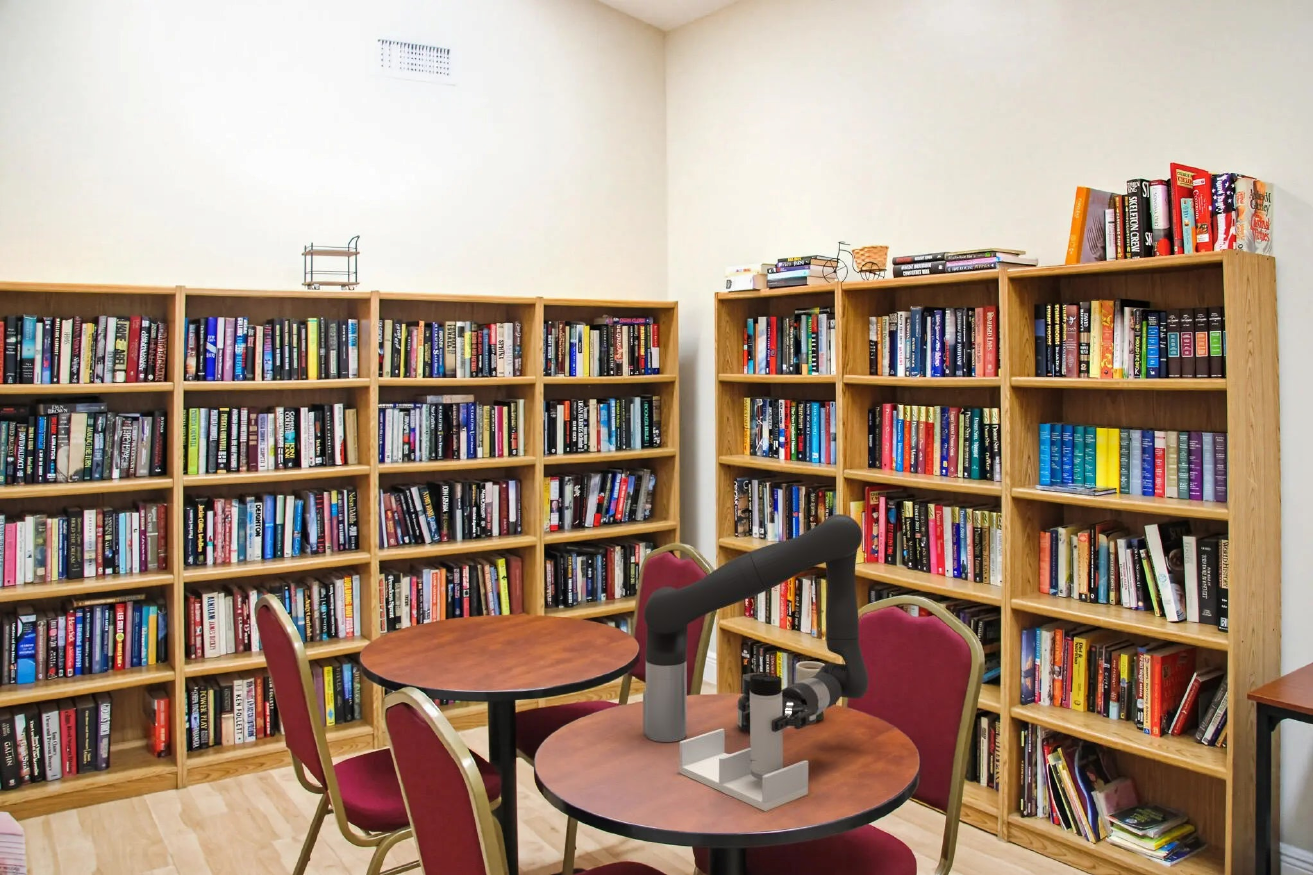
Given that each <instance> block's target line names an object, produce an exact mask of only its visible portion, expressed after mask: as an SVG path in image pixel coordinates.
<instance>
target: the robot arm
mask: <svg viewBox="0 0 1313 875" xmlns="http://www.w3.org/2000/svg"><path fill="white" fill-rule="evenodd" d="M862 541H863V530H862V527H861V526H860V524H859V522H858V521H856V520H855V519H854V518H853V517H851V516H850V515H847V514H843V513H837V514H833V515H830V516H828V517H827V518H826V519H825V520H824V521H822V522H821V523H819V524H818V525H816V526H815V527H813V528H811V529H809V530H807V531H805V532H804V533H801V534H800V535H798V536H795V537H793V538H790V539H787V540H783V541H779V542H778V541H777V542H774V543H772V544H768V545H764V546H762V547H758V548H757V549H753V550H751V551H748V552H746V553H744V554H742V555H740V556H737V557H735V558H732V559H731V560H729V561H727V562H725V563H724V564H722V565H721V566H720V567H718V568H716V569H714V570H713V571H712V572H710V573H709V574H708V575H706V576H705V577H703V578H701V579H700V580H697V581H696V582H694V583H691V584H689V585H686V586H684V587H680V588H678V589H677V588H674V587H672V586H665V587H664V586H663V587H660V588H658V589H656V590H654V591H653V592H652V593H651V594H650V596H649V597H648V600H647V601H646V603H645V605H644V610H643V618H644V623H645V624H646V644H645V690H644V691H643V692H642V733H643V734H645V737H646V738H647V739H649V740H651V741H654V742H660V743H673V742H678V741H679V742H680V741H683V740H684V739H685V738H686V737H687V716H688V715H687V714H688V713H687V708H688V707H687V696H688V695H687V690H688V689H687V680H688V678H687V677H688V676H687V671H688V670H687V661H688V658H687V657H688V655H687V654H688V633H689V632H688V628H689V626H688V625H689V624H691V623H693V622H694V621H696V620H698V619H701V618H702V617H704V616H706V615H708V614H710V613H712V612H715V611H718V610H721V609H724V608H726V607H728V606H732V605H734V604H737V603H740V602H742V601H745V600H747V599H750V598H753V597H755V596H757V595H760V594H763V593H765V592H767V591H770V590H771V589H773V588H775V587H777V586H780V585H781V584H784V583H785V582H787V581H789V580H791V579H792V578H794V577H795V576H797V575H799V574H800V573H803V572H804V571H806V570H809V569H811V568H813V567H817V566H819V565H822V564H825V569H826V570H825V571H826V606H825V607H826V608H825V612H826V613H825V635H826V648H827V650H828V651H829V652H831V653H833V654H835V655H838V656H840V657H841V658H842V659H843V661H844V663H839V662H838V663H835V662H831V663H826V664H825V665H824V666H822V667H821V669H820V670H819V671H818V672H817V674H816V675H815V676H813V677H811V678H809V679H805V680H802V681H799V682H797V683H796V682H795V683H793V684H791V685H789V686H787V687H785V688H782V716H780V717H778V718H776V719H774V720H773V721H772V731H773V732H777V731H779V730H782V729H783V730H784V729H791V728H792V727H794V729H795V730H800V729H803V728H806V727H807V726H811V725H813V724H815V723H817V722H816V721H817V720H816V715H818V714H820V713H821V712H822V711H823V712H824V710H827V709H829V708H831V707H832V706H834V705H836V703H838V701H839V700H840V698H846V699H854V700H855V699H856V700H857V699H861V698H863V697H864V696H865V695H866V693H867V691H868V689H869V675H868V670H867V668H866V664H865V662H864V658H863V657H864V656H863V654H862V649H861V645H860V630H859V629H860V627H859V625H860V624H859V623H860V622H859V620H860V619H859V606H858V598H857V590H856V589H857V587H856V565H857V564H856V563H857V562H856V561H857V556H858V549H859V548H860V546H861V544H862ZM742 723H743V724H748V723H750V701H749V702H748V703H746V711H745V712H743V713H742Z"/></svg>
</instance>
